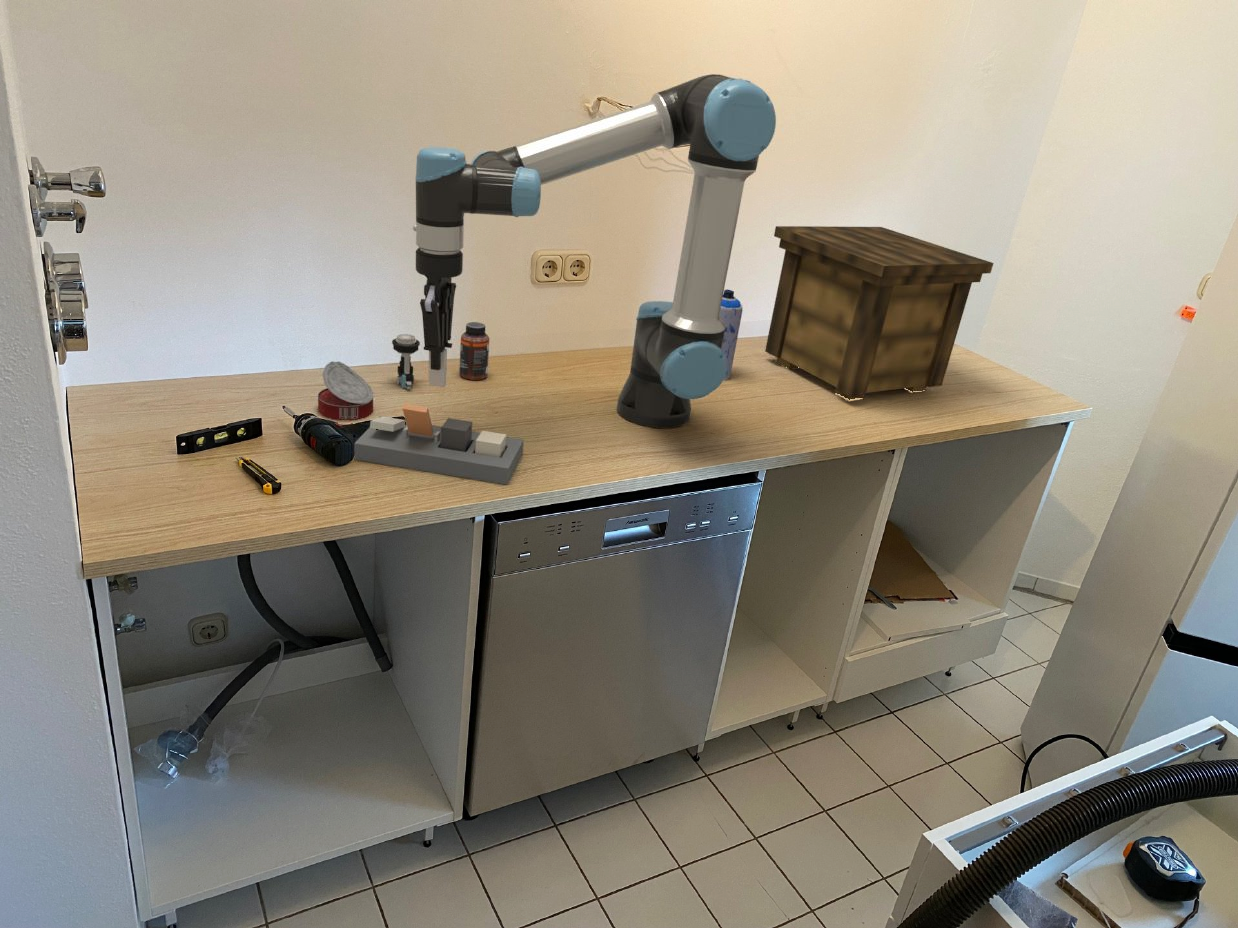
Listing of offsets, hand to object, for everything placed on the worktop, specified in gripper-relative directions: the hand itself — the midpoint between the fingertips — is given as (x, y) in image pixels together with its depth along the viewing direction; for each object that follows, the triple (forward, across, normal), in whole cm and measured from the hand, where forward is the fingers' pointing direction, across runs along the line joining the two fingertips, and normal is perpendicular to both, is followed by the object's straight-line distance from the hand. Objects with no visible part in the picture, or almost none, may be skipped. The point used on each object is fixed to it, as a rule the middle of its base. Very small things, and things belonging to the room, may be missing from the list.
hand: (437, 384), depth 157 cm
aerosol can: (+12, -58, +49) cm, 77 cm away
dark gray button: (+8, +6, +5) cm, 12 cm away
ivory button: (+10, +6, +11) cm, 16 cm away
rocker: (+6, +6, -7) cm, 11 cm away
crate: (+13, -71, +83) cm, 110 cm away
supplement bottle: (+11, -34, -2) cm, 36 cm away
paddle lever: (+7, +6, -1) cm, 9 cm away
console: (+11, +6, +3) cm, 13 cm away
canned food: (+11, -7, -19) cm, 23 cm away
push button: (+11, -23, -13) cm, 28 cm away
